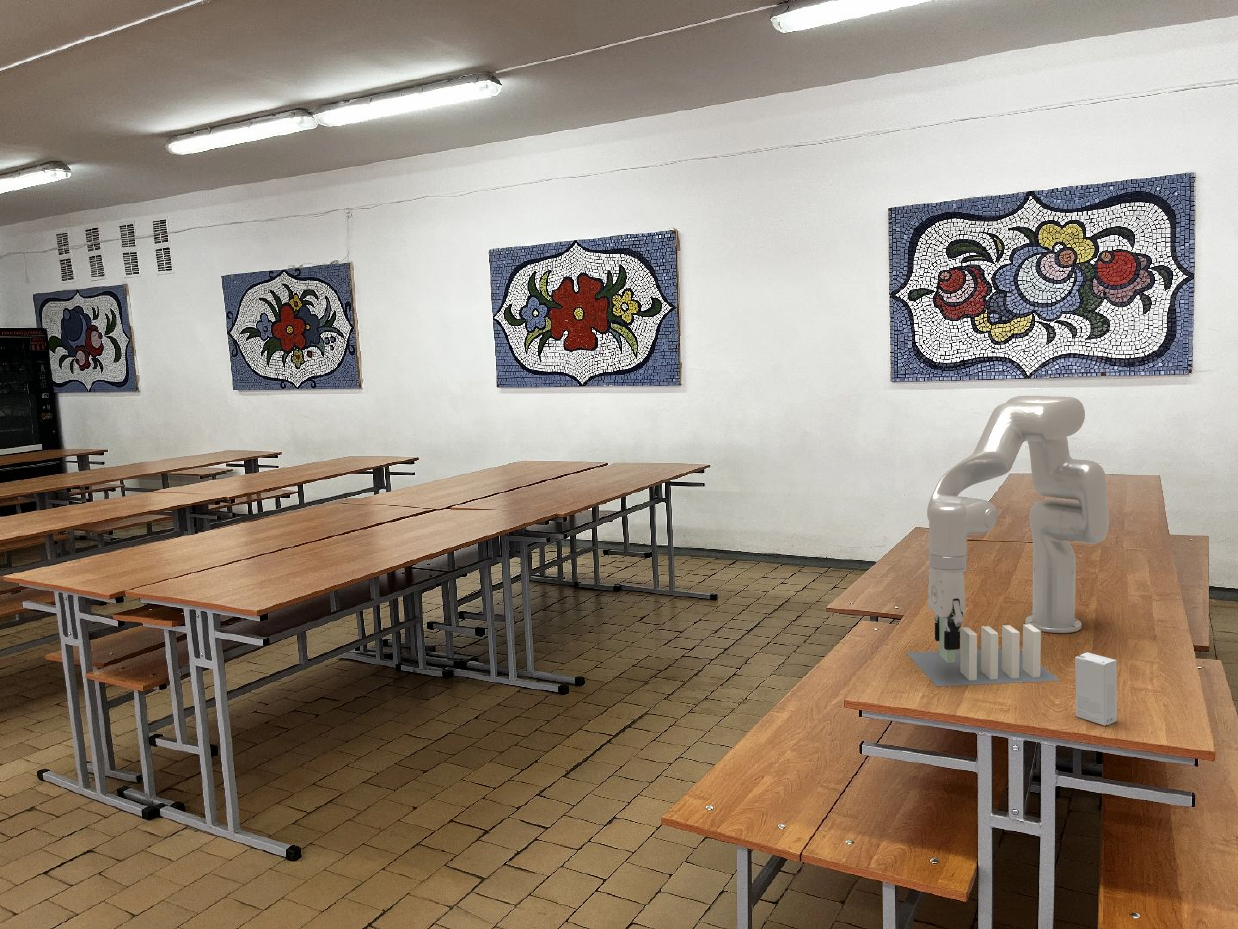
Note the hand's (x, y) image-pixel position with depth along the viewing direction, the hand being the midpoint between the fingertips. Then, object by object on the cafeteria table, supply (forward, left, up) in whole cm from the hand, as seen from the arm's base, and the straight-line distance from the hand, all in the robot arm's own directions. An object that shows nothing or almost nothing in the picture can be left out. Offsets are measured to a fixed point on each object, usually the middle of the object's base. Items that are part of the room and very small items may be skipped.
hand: (947, 644), depth 199 cm
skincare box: (+10, +29, -8) cm, 32 cm away
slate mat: (-9, +5, -8) cm, 13 cm away
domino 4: (-9, +16, -7) cm, 20 cm away
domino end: (0, 0, -3) cm, 3 cm away
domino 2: (-5, +8, -7) cm, 12 cm away
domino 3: (-7, +12, -7) cm, 16 cm away
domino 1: (-2, +4, -7) cm, 9 cm away
